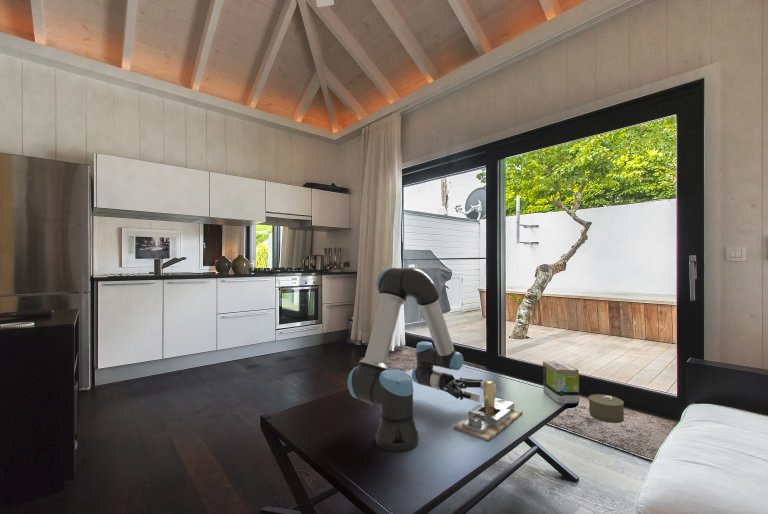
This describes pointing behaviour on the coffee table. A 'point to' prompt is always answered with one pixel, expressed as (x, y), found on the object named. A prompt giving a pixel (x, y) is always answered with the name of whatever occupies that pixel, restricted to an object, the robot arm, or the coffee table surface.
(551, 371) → the tea box
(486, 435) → the joining board
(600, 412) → the olive round block
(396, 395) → the robot arm
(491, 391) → the pin
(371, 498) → the coffee table surface
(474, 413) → the metal square socket
